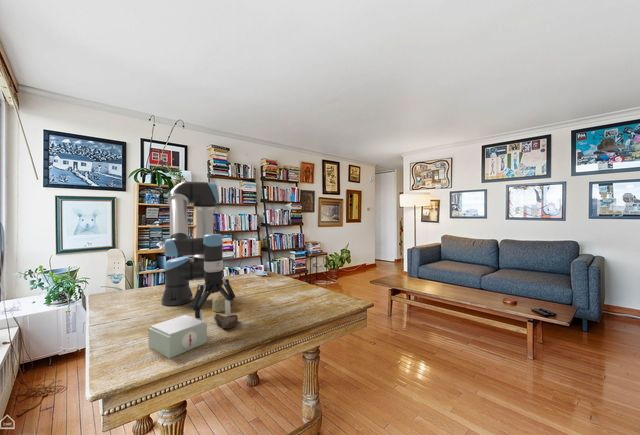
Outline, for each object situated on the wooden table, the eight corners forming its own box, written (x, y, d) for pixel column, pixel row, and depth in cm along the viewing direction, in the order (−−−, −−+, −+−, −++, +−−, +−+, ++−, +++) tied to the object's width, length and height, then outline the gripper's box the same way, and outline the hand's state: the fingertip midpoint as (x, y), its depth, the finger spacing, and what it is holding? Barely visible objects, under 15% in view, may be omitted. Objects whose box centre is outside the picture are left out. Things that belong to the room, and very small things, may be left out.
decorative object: (232, 316, 138) (238, 297, 144) (220, 310, 131) (227, 290, 136) (216, 316, 141) (223, 297, 147) (204, 309, 133) (212, 289, 139)
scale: (148, 347, 100) (148, 325, 99) (185, 333, 111) (185, 314, 111) (170, 359, 91) (170, 335, 91) (208, 342, 103) (208, 322, 103)
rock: (213, 320, 123) (214, 312, 123) (237, 321, 125) (238, 313, 125) (209, 329, 112) (211, 319, 112) (236, 330, 114) (237, 321, 114)
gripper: (191, 277, 105) (192, 332, 105) (242, 266, 126) (243, 312, 126) (180, 275, 109) (181, 328, 109) (231, 265, 130) (232, 310, 130)
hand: (214, 320), depth 117 cm, fingers open, 13 cm apart
